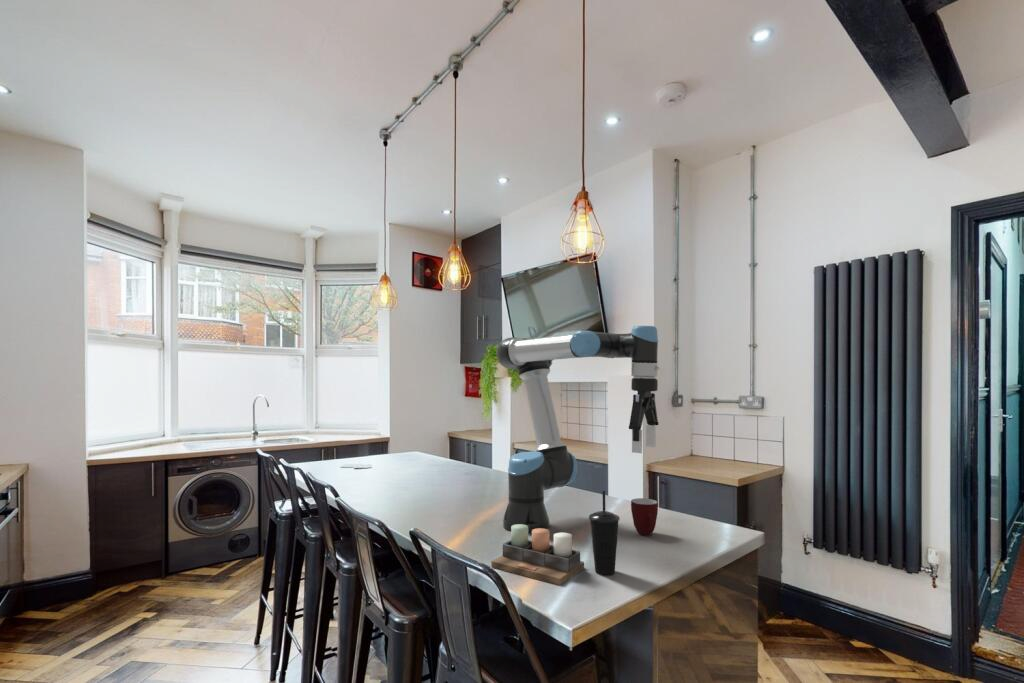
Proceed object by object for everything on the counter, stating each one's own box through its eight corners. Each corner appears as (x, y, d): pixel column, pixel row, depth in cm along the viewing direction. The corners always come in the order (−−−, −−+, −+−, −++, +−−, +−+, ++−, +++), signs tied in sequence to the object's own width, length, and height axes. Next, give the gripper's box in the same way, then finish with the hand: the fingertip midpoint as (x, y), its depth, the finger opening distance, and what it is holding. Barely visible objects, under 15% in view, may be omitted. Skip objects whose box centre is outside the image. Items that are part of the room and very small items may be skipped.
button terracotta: (528, 551, 130) (528, 531, 130) (537, 546, 134) (537, 527, 134) (543, 555, 127) (543, 534, 128) (552, 549, 131) (552, 530, 132)
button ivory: (550, 556, 126) (550, 536, 127) (559, 551, 130) (559, 531, 131) (566, 560, 124) (566, 539, 124) (575, 554, 128) (574, 534, 128)
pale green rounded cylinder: (507, 546, 134) (507, 527, 134) (517, 542, 137) (517, 523, 138) (522, 550, 131) (522, 530, 131) (531, 545, 135) (531, 526, 135)
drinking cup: (586, 566, 130) (585, 488, 131) (615, 565, 130) (614, 487, 132) (593, 578, 122) (592, 494, 124) (624, 577, 123) (623, 494, 124)
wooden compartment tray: (491, 567, 129) (491, 549, 130) (518, 552, 140) (519, 536, 140) (560, 585, 118) (559, 565, 119) (584, 567, 129) (584, 549, 129)
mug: (668, 539, 152) (667, 505, 152) (644, 541, 149) (643, 507, 150) (649, 529, 162) (648, 497, 162) (626, 531, 159) (626, 499, 160)
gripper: (644, 378, 137) (644, 456, 136) (668, 377, 158) (667, 445, 157) (617, 377, 141) (617, 454, 140) (644, 376, 162) (644, 443, 161)
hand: (644, 449), depth 149 cm, fingers open, 13 cm apart
